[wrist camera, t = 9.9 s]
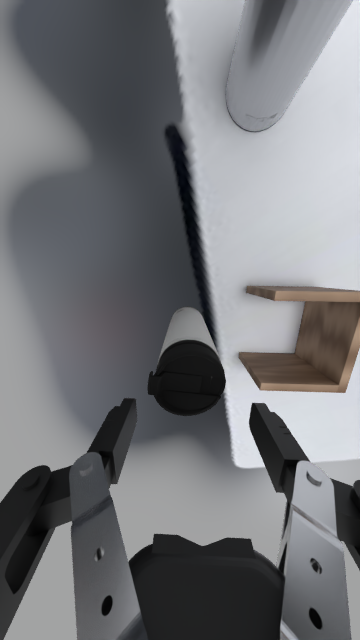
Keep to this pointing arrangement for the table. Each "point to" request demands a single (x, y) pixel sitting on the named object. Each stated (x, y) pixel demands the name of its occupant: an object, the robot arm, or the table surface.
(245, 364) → the wooden u-shaped bracket
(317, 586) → the robot arm
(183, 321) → the travel mug
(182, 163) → the table surface
